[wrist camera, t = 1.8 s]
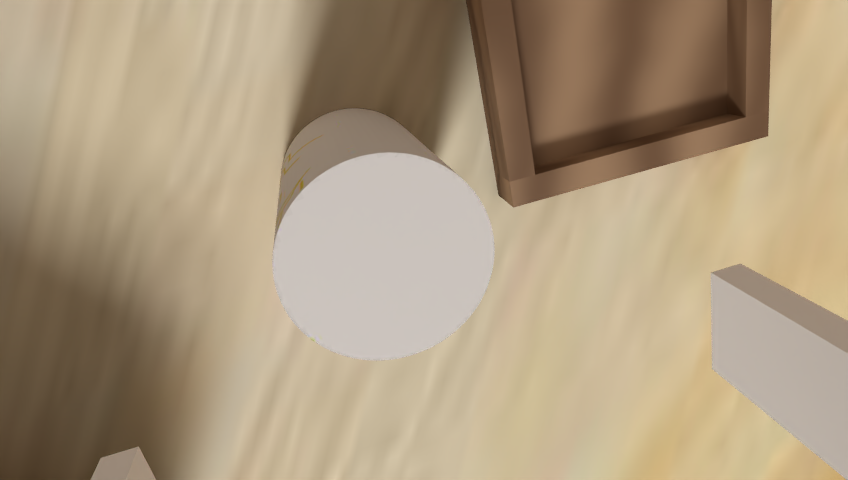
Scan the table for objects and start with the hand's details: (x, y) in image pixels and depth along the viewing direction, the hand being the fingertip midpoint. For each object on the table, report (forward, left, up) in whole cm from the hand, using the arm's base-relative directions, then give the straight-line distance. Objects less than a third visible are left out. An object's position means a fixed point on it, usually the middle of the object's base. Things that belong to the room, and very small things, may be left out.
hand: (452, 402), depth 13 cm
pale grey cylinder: (0, 0, -21) cm, 21 cm away
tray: (+16, +5, -21) cm, 26 cm away
